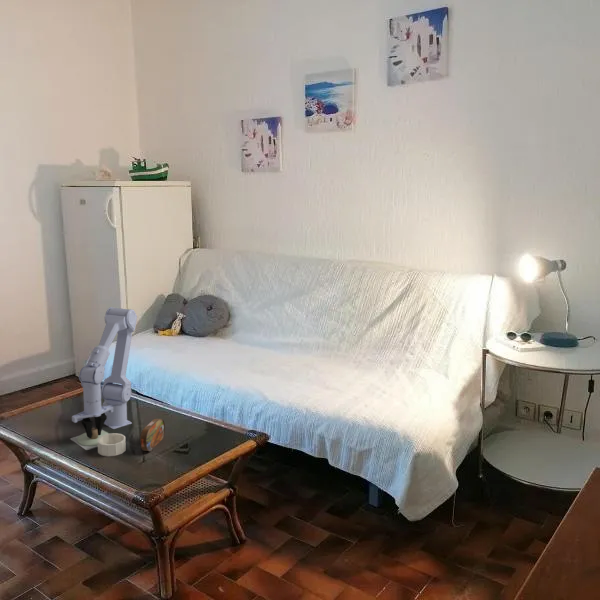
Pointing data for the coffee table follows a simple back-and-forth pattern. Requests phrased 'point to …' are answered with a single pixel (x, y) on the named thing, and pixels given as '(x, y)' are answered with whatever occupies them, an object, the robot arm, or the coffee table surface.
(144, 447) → the tin
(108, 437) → the bowl
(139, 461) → the coffee table surface
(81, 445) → the mat
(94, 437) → the lid
